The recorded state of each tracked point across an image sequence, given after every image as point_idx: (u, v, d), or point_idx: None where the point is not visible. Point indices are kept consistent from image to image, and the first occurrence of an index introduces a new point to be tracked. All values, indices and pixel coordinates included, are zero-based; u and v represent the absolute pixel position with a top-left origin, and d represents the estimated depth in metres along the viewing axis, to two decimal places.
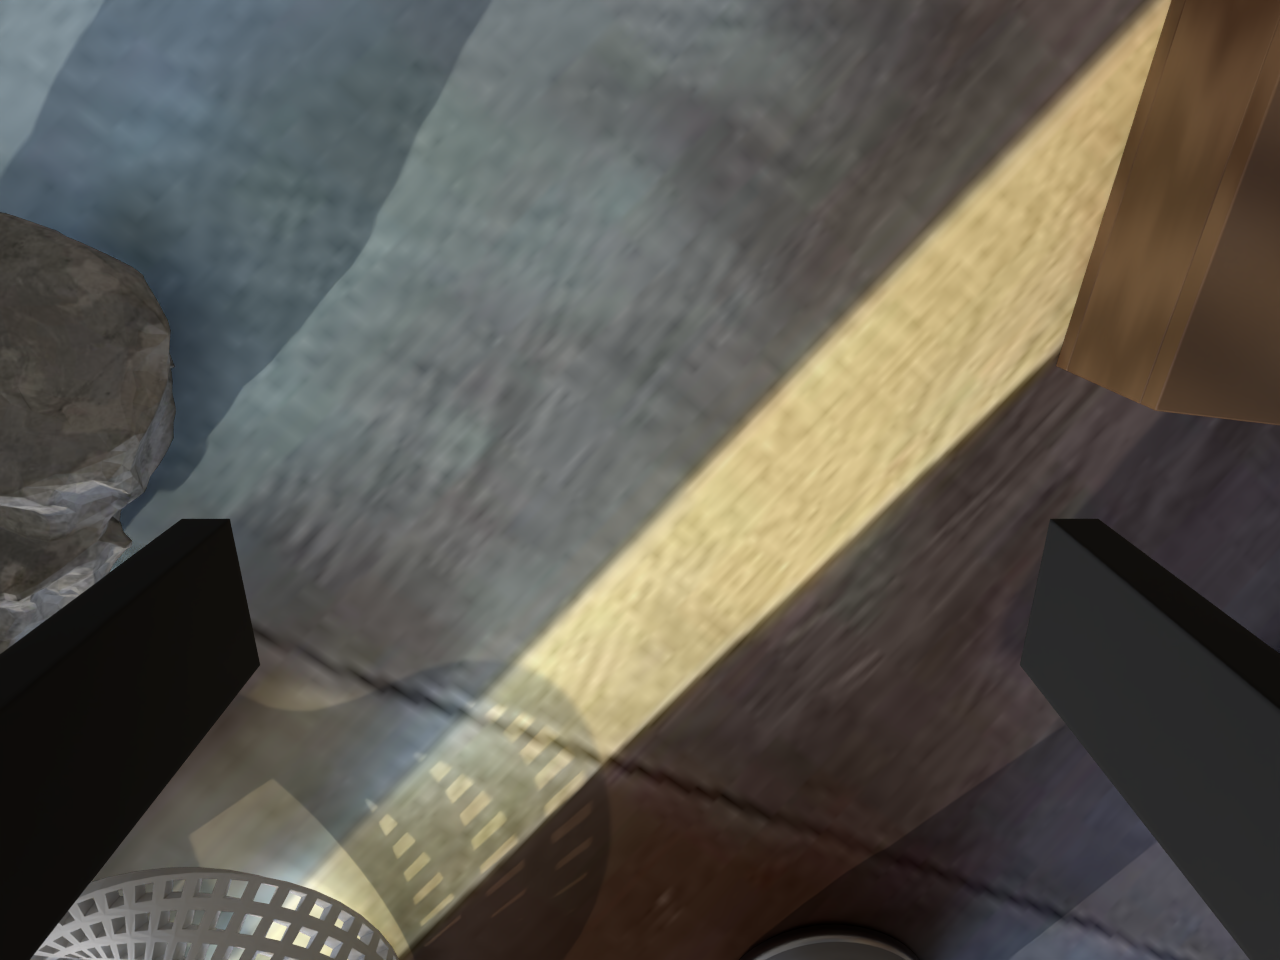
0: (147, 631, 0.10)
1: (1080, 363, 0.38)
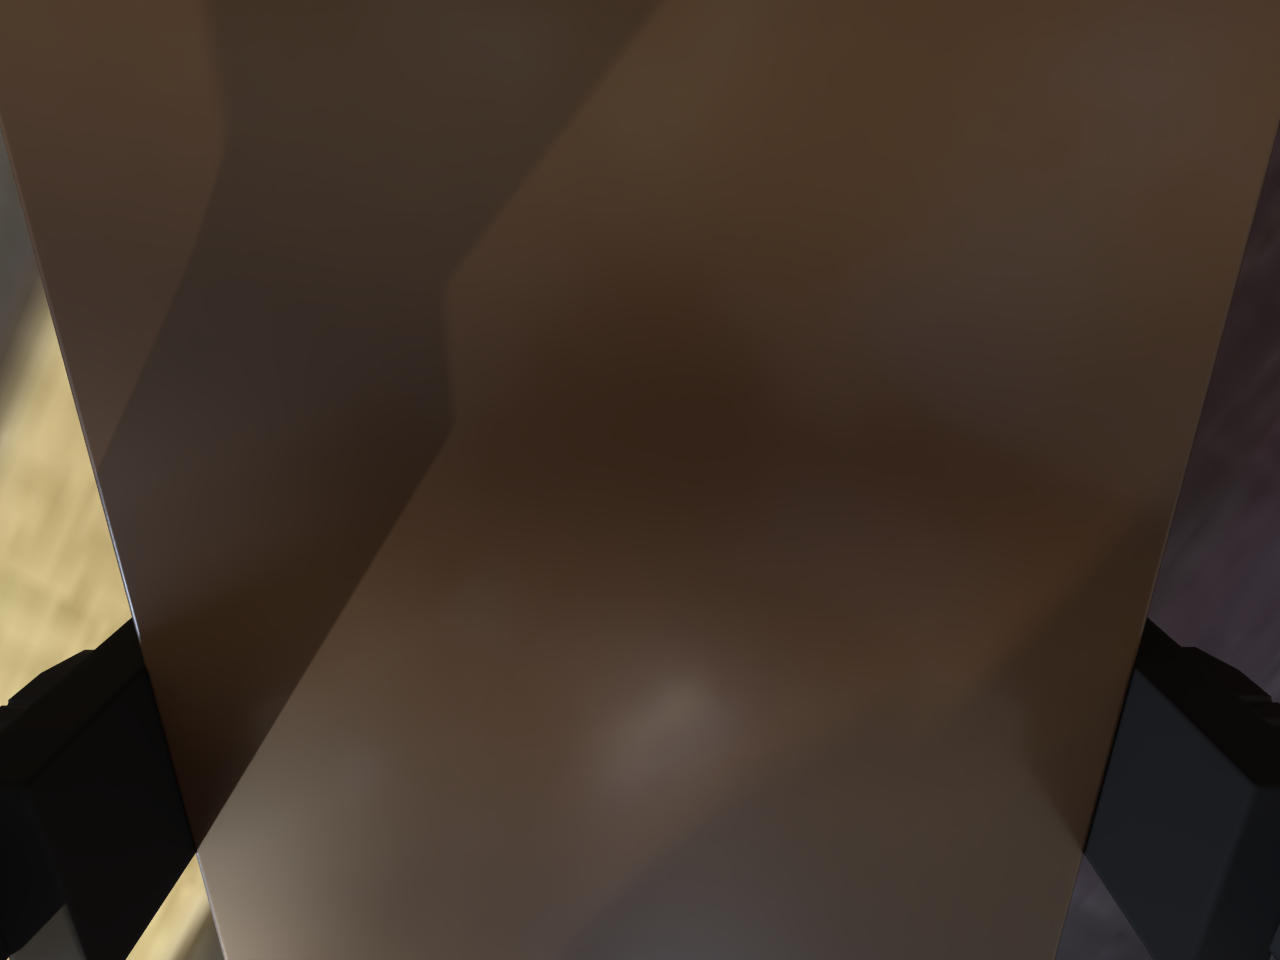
0: None
1: None
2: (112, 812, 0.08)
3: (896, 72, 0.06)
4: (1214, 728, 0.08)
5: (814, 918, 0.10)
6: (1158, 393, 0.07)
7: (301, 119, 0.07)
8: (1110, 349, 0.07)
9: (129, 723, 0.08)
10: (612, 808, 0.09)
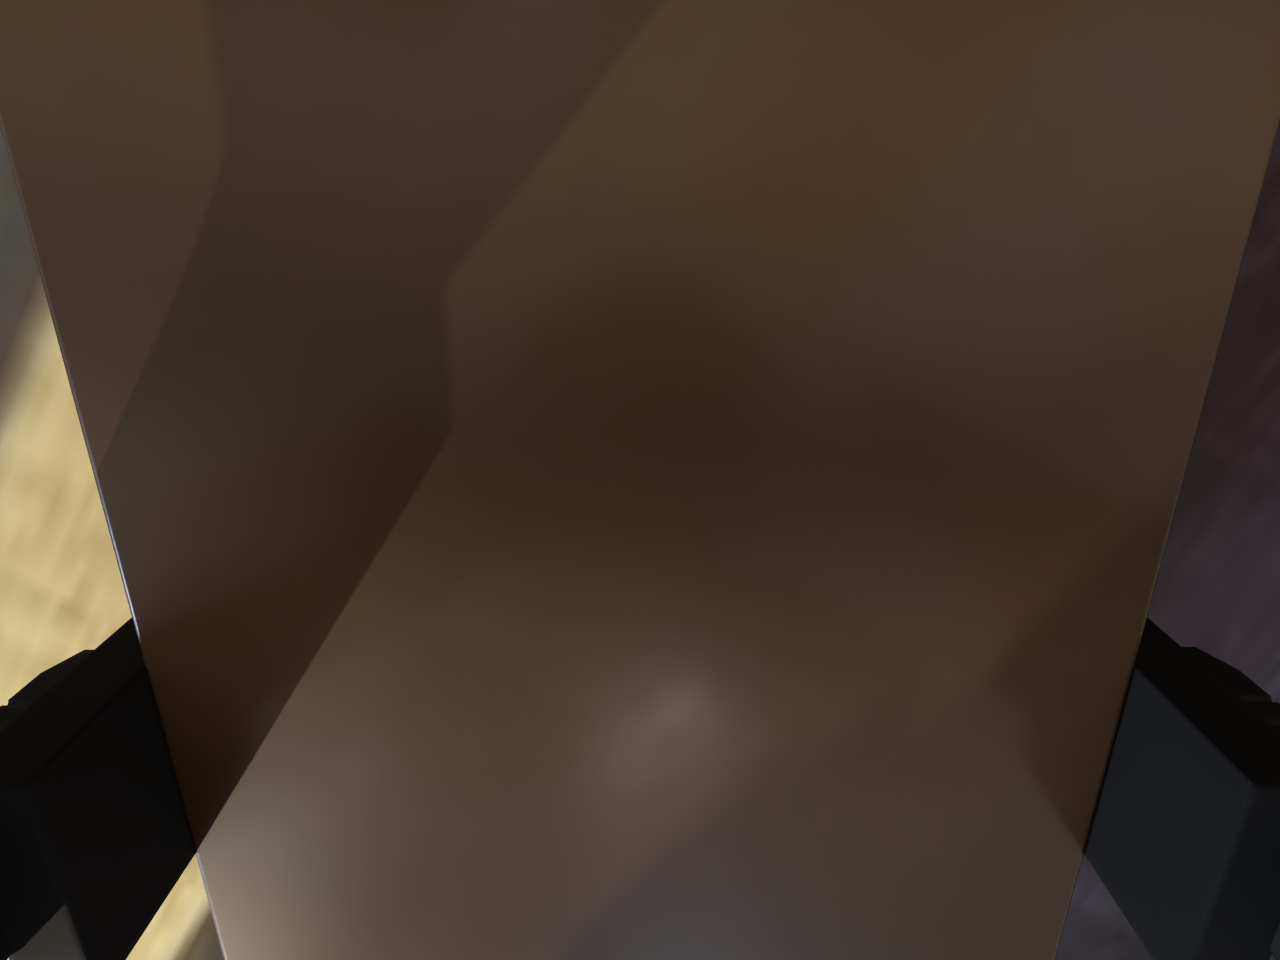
0: None
1: None
2: (112, 812, 0.08)
3: (896, 71, 0.06)
4: (1215, 728, 0.08)
5: (815, 918, 0.10)
6: (1159, 393, 0.07)
7: (300, 119, 0.07)
8: (1110, 348, 0.07)
9: (129, 723, 0.08)
10: (612, 807, 0.09)
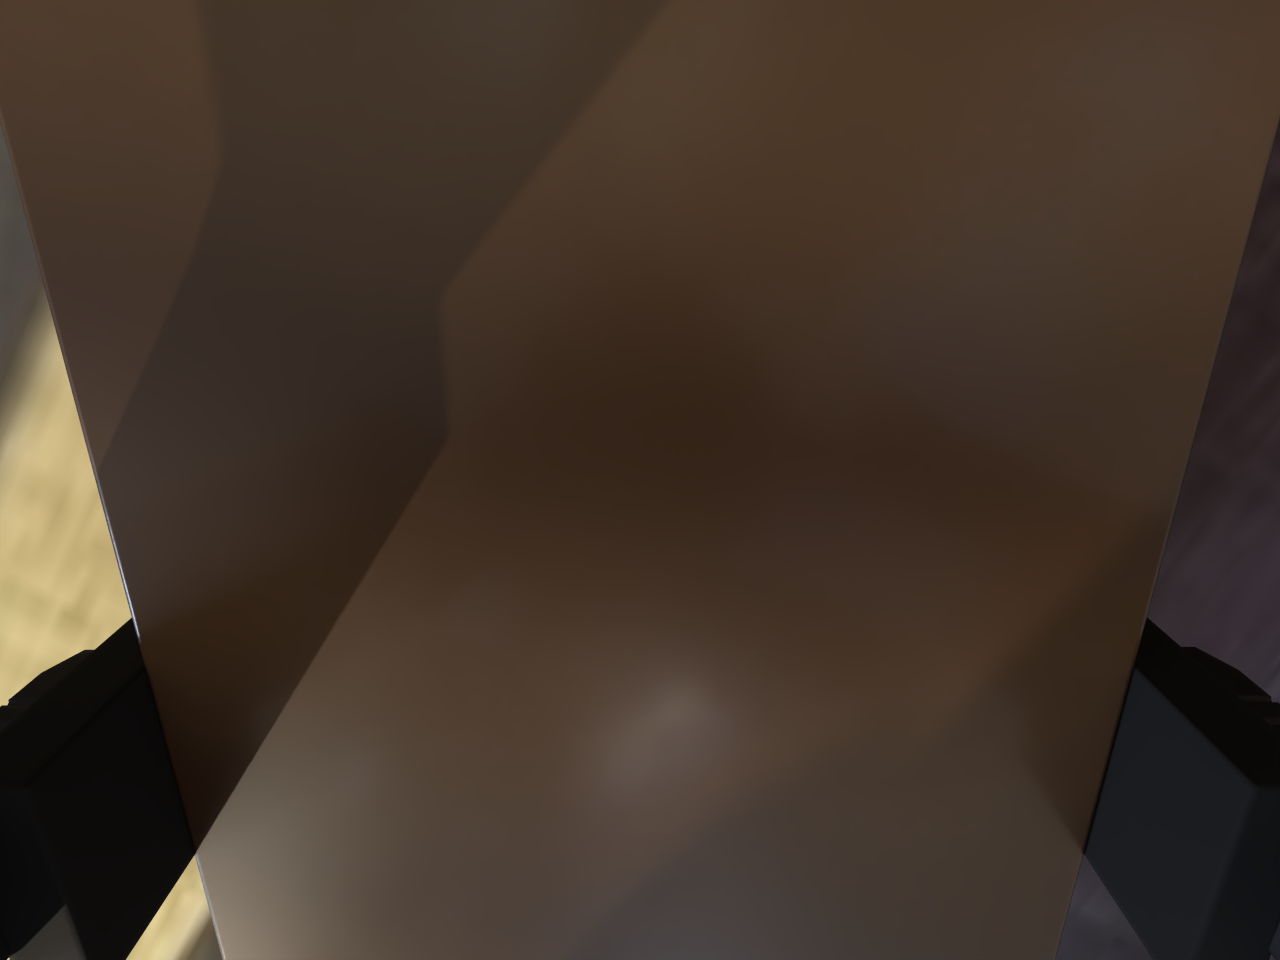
0: None
1: None
2: (112, 812, 0.08)
3: (897, 71, 0.06)
4: (1214, 728, 0.08)
5: (815, 919, 0.10)
6: (1158, 393, 0.07)
7: (301, 118, 0.07)
8: (1110, 348, 0.07)
9: (129, 723, 0.08)
10: (612, 808, 0.09)
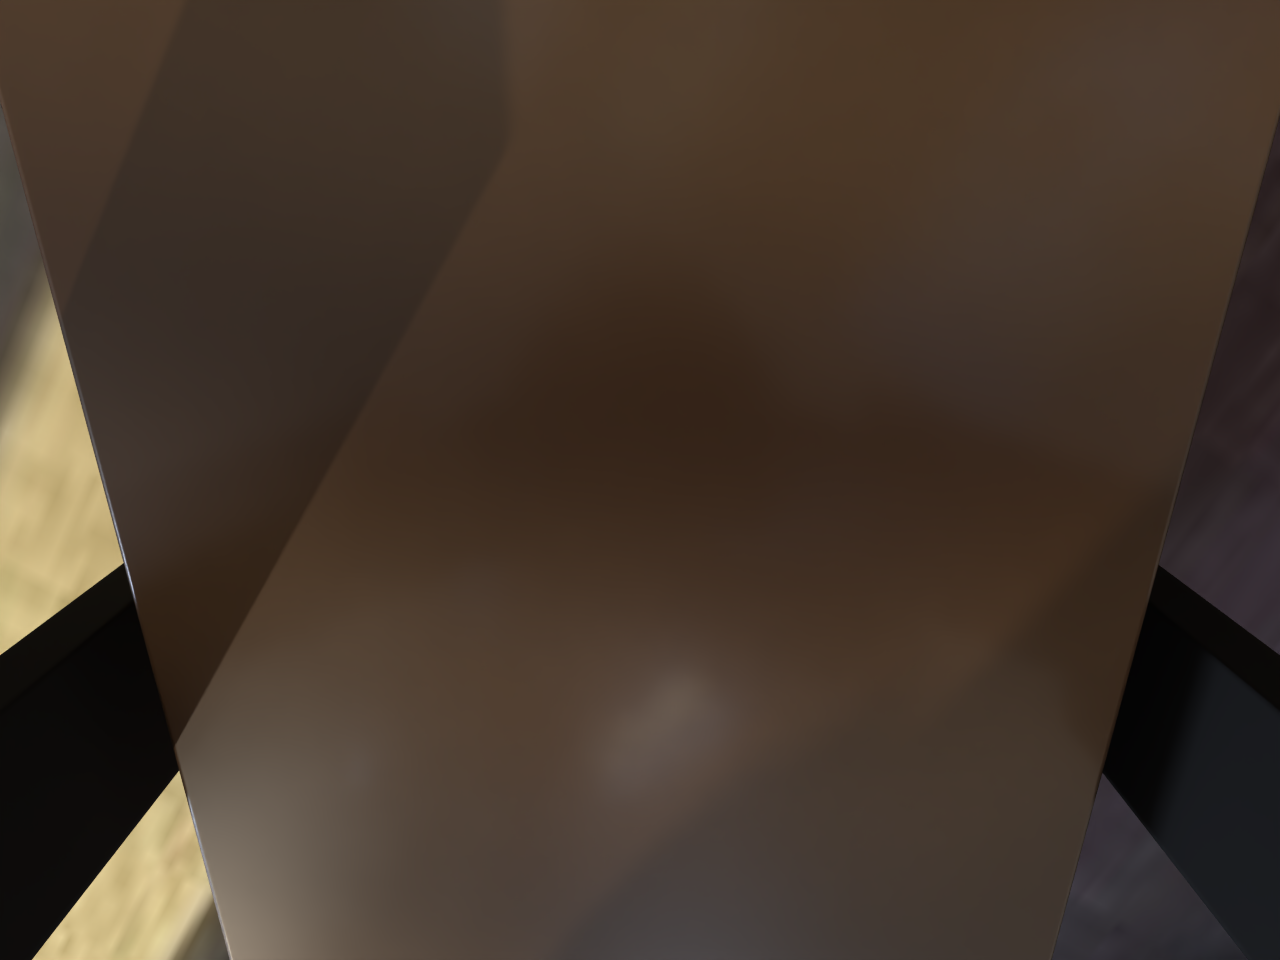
0: None
1: None
2: None
3: (899, 51, 0.06)
4: None
5: (816, 903, 0.10)
6: (1160, 376, 0.07)
7: (302, 98, 0.07)
8: (1112, 331, 0.07)
9: None
10: (615, 792, 0.09)
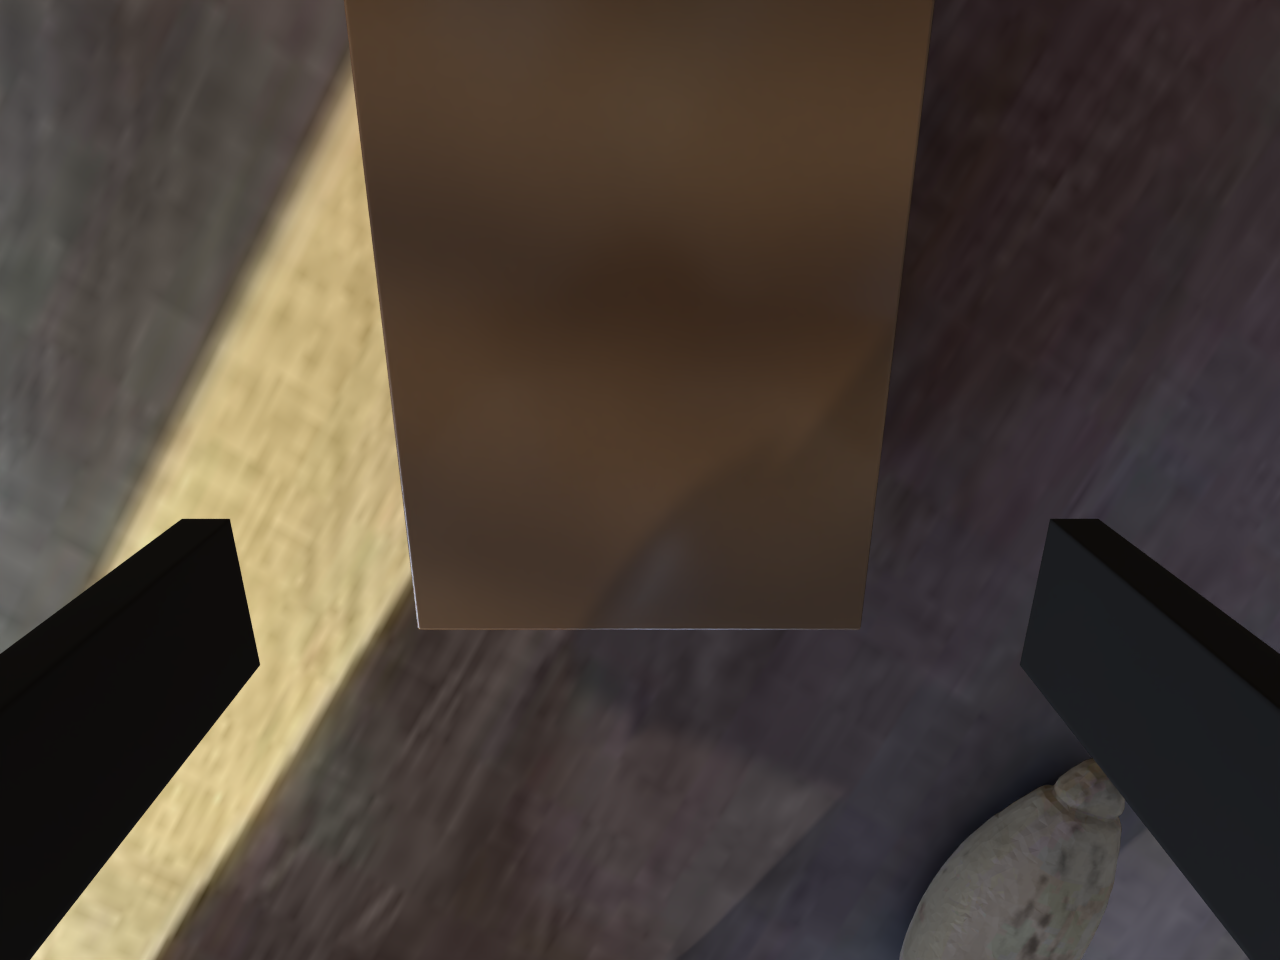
0: (147, 631, 0.10)
1: None
2: None
3: (749, 127, 0.15)
4: None
5: (733, 568, 0.18)
6: (879, 272, 0.16)
7: (492, 147, 0.15)
8: (854, 251, 0.16)
9: None
10: (625, 499, 0.18)
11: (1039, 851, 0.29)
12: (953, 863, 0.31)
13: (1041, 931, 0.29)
